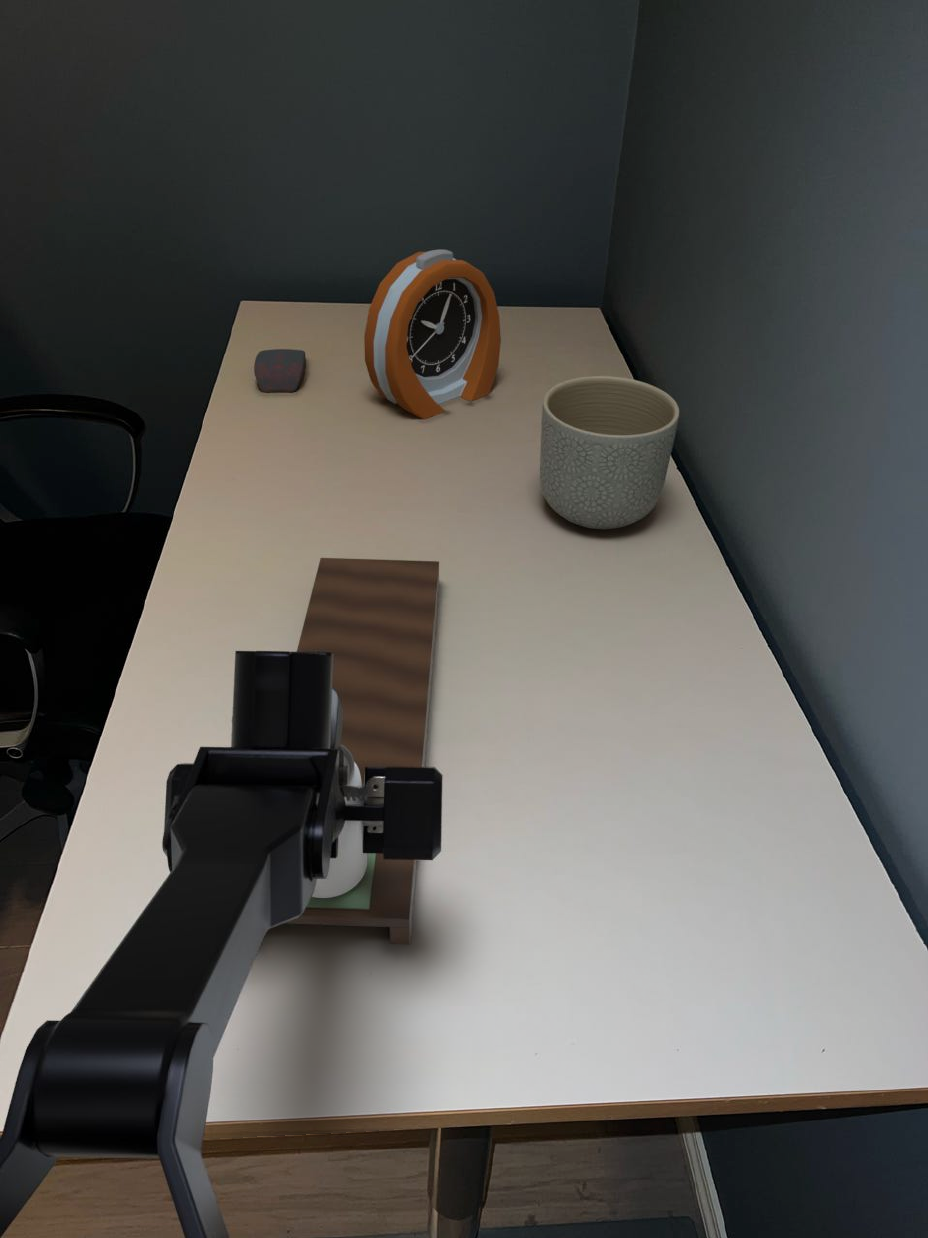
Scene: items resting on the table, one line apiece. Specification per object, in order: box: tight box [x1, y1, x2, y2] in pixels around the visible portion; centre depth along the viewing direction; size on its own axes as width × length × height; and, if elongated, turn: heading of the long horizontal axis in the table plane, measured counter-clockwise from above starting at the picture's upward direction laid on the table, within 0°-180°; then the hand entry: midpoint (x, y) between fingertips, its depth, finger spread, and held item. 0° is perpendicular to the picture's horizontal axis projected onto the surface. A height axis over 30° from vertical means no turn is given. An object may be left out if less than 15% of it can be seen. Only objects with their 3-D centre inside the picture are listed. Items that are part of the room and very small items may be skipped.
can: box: [312, 744, 367, 898], centre depth 71 cm, size 6×6×12 cm
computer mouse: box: [253, 348, 306, 393], centre depth 154 cm, size 8×14×4 cm, turn 3°
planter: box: [539, 375, 680, 530], centre depth 120 cm, size 17×17×15 cm
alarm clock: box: [363, 249, 502, 420], centre depth 143 cm, size 22×10×23 cm, turn 132°
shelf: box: [284, 557, 440, 945], centre depth 91 cm, size 48×14×4 cm, turn 178°
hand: (323, 800), depth 72 cm, fingers closed on can, 6 cm apart
